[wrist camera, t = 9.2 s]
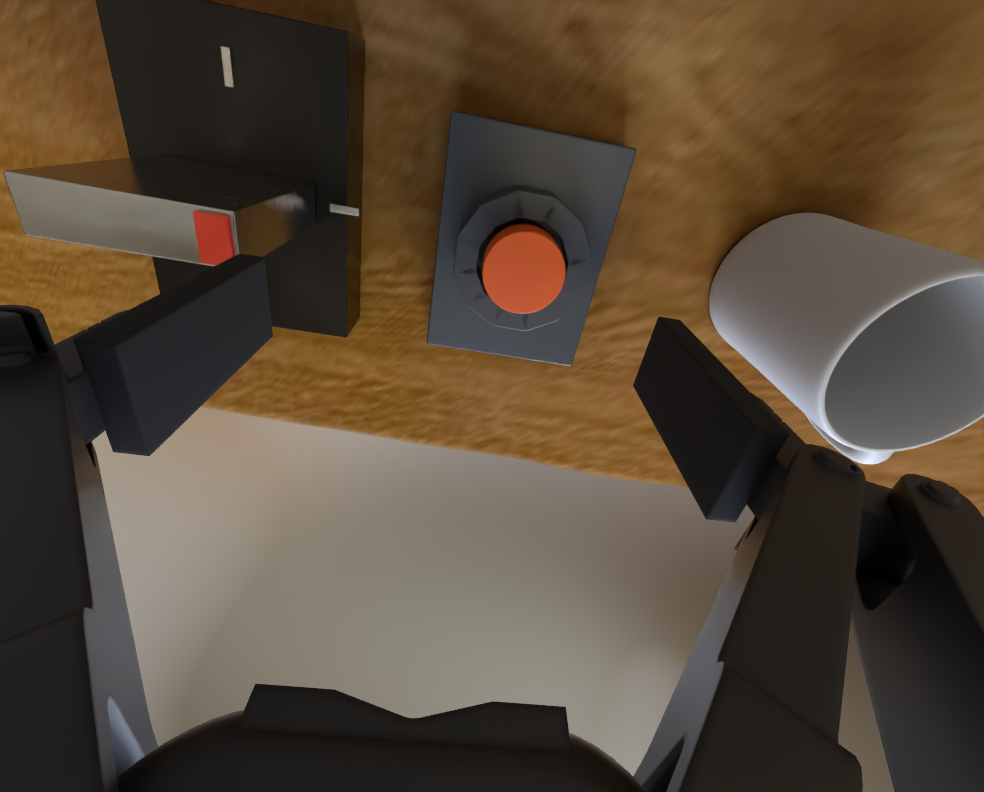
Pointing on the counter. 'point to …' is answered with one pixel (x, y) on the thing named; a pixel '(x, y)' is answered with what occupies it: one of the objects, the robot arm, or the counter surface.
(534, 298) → the button
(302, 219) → the grey metallic block
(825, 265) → the mug
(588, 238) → the button box
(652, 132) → the counter surface
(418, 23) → the counter surface
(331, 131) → the panel
